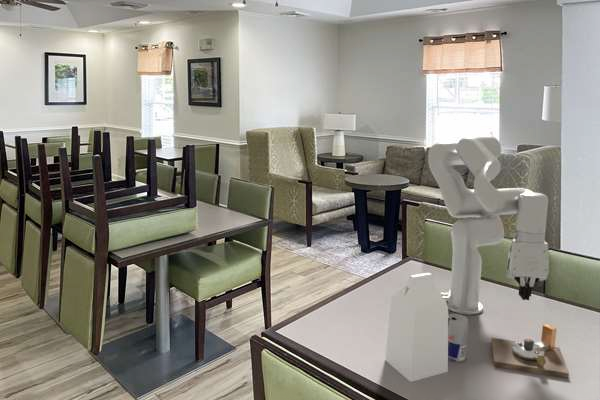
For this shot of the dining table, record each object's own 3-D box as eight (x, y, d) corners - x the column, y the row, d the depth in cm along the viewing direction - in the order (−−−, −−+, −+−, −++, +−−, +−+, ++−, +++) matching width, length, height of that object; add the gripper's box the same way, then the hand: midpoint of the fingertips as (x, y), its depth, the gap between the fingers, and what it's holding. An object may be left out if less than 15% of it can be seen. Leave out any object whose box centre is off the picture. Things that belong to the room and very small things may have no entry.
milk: (410, 381, 124) (415, 285, 118) (385, 360, 134) (389, 271, 129) (447, 371, 128) (454, 278, 123) (420, 351, 139) (425, 265, 133)
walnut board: (493, 366, 131) (495, 347, 130) (491, 342, 144) (492, 325, 143) (568, 378, 125) (570, 359, 124) (558, 352, 138) (560, 334, 137)
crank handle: (530, 363, 129) (532, 342, 128) (505, 349, 136) (507, 329, 135) (562, 352, 135) (565, 332, 133) (537, 340, 142) (539, 320, 140)
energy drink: (442, 352, 138) (445, 313, 135) (460, 352, 138) (463, 313, 136) (449, 362, 133) (452, 322, 130) (468, 362, 133) (471, 321, 131)
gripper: (505, 239, 134) (500, 301, 137) (563, 241, 131) (556, 304, 135) (498, 232, 141) (494, 292, 144) (553, 234, 139) (547, 294, 142)
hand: (524, 298), depth 139 cm, fingers closed
